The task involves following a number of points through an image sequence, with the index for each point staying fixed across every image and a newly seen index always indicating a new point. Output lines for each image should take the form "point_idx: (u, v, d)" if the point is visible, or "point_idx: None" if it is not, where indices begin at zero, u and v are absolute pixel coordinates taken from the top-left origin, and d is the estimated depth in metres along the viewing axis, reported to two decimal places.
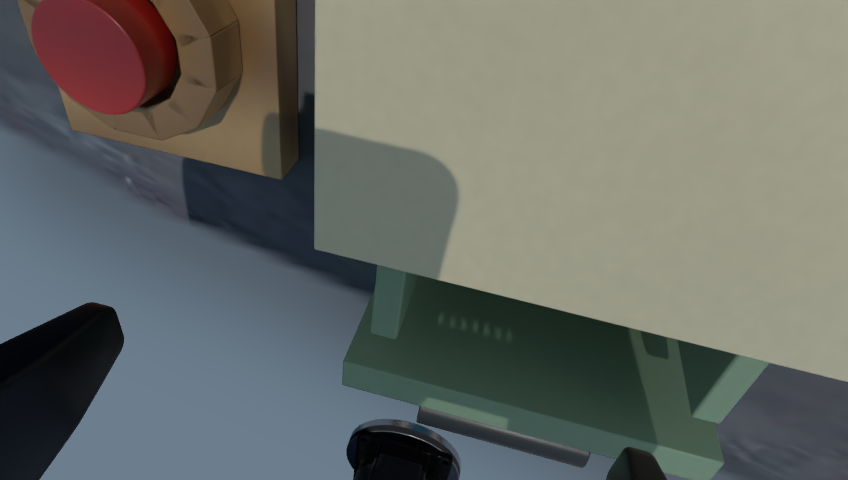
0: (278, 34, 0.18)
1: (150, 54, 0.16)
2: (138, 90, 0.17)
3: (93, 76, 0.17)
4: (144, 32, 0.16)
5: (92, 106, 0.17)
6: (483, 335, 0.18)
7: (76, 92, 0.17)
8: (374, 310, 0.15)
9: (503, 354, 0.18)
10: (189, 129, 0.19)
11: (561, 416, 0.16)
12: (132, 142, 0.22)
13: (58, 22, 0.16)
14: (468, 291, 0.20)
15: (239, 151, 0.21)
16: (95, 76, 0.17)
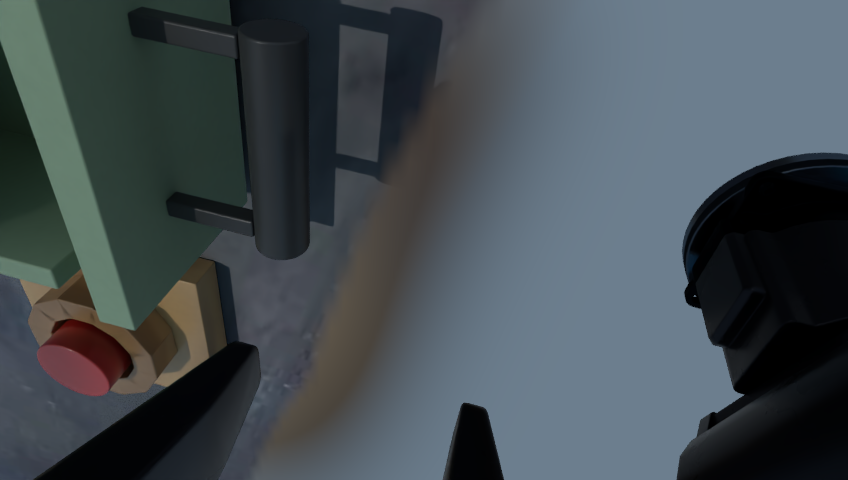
0: None
1: (63, 337, 0.25)
2: (77, 355, 0.25)
3: (83, 374, 0.26)
4: (55, 335, 0.25)
5: (105, 384, 0.26)
6: None
7: (100, 388, 0.26)
8: (27, 280, 0.17)
9: None
10: (130, 335, 0.25)
11: (32, 121, 0.13)
12: None
13: (59, 375, 0.26)
14: None
15: (183, 306, 0.26)
16: (82, 373, 0.26)
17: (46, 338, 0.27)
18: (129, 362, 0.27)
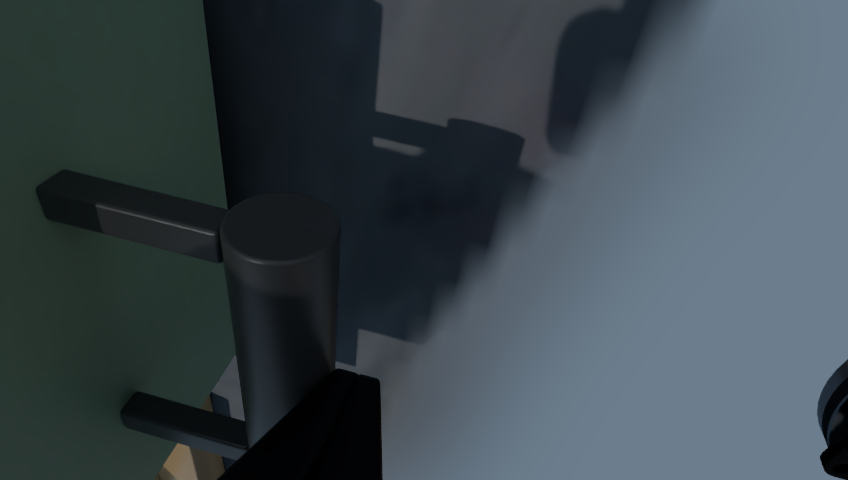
0: None
1: None
2: None
3: None
4: None
5: None
6: None
7: None
8: None
9: None
10: None
11: None
12: None
13: None
14: None
15: None
16: None
17: None
18: None
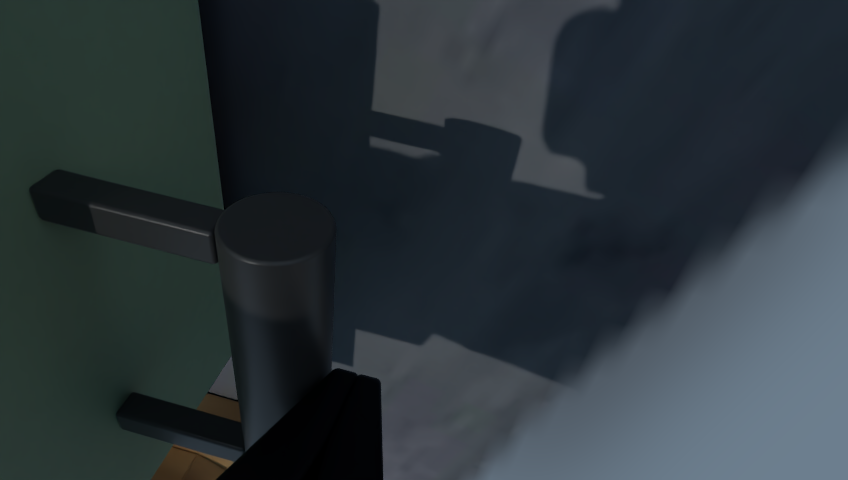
0: None
1: None
2: None
3: None
4: None
5: None
6: None
7: None
8: None
9: None
10: None
11: None
12: None
13: None
14: None
15: None
16: None
17: None
18: None
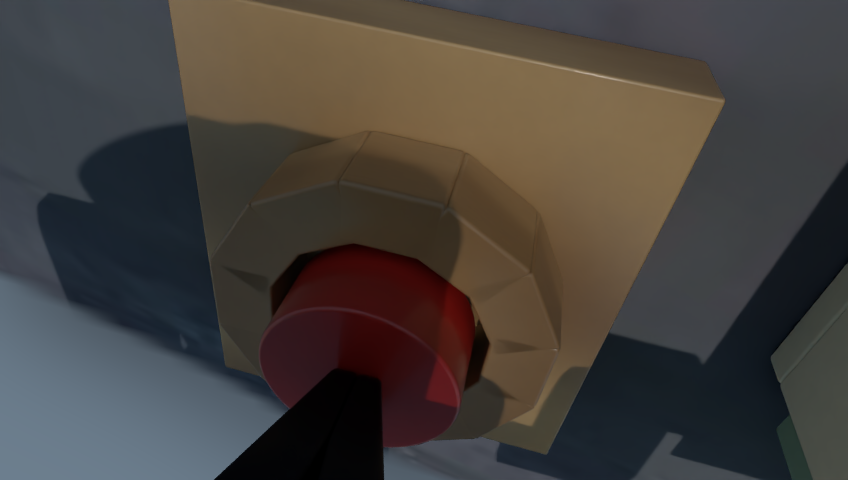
0: (622, 301, 0.11)
1: (464, 378, 0.09)
2: (434, 431, 0.10)
3: None
4: (460, 348, 0.09)
5: None
6: None
7: None
8: None
9: None
10: (461, 438, 0.12)
11: None
12: None
13: (319, 340, 0.09)
14: None
15: None
16: None
17: (382, 230, 0.09)
18: None
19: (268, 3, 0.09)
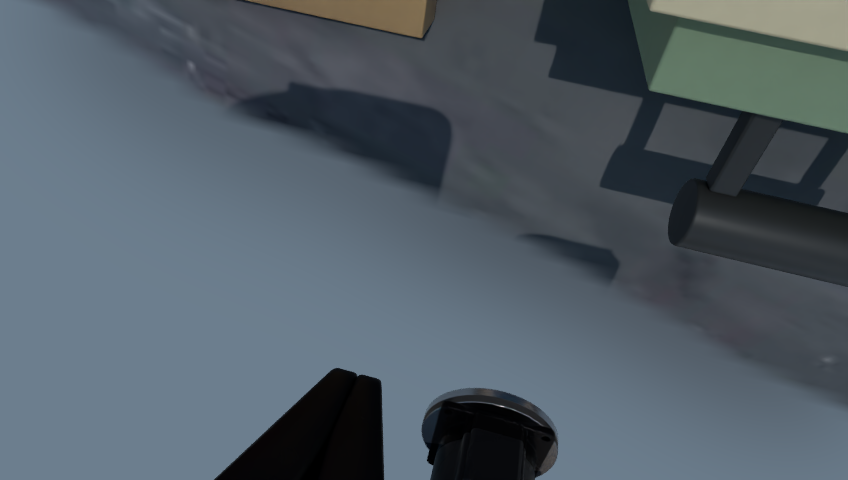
0: None
1: None
2: None
3: None
4: None
5: None
6: None
7: None
8: None
9: None
10: None
11: None
12: None
13: None
14: None
15: None
16: None
17: None
18: None
19: None
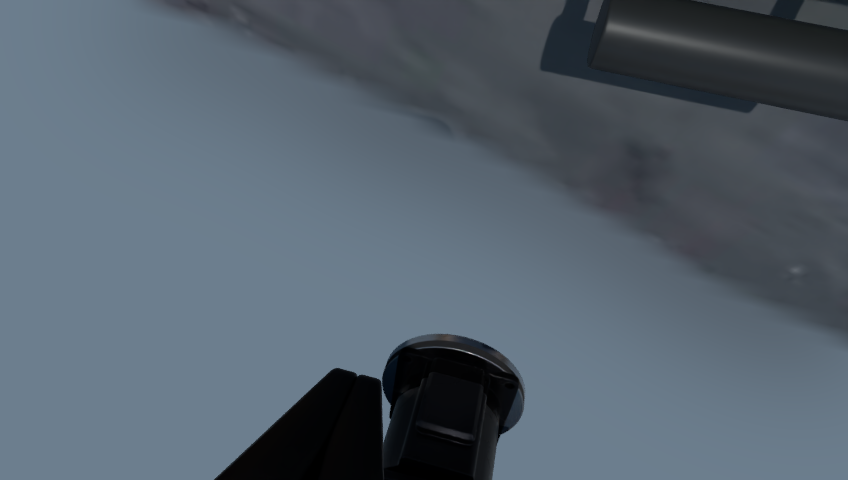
0: None
1: None
2: None
3: None
4: None
5: None
6: None
7: None
8: None
9: None
10: None
11: None
12: None
13: None
14: None
15: None
16: None
17: None
18: None
19: None
